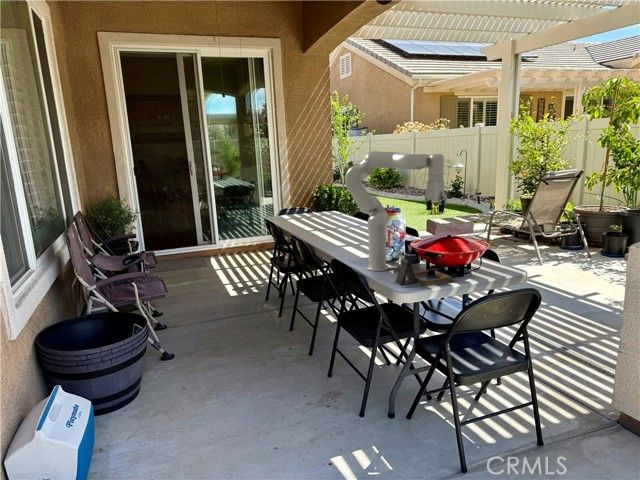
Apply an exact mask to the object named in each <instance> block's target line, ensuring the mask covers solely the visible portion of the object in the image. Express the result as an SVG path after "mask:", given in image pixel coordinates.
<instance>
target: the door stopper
mask: <svg viewBox="0 0 640 480" xmlns="http://www.w3.org/2000/svg"><path fill="white" fill-rule="evenodd" d="M413 268H414V267H413V262H412V261H411V260H410V259H407V258H406V257H405V258H403V257H402V258H401V259H400V266H399V269H398V273H397V275H396V278H395V281H394V282H396V283H398V284H400V285H401V286H402V285H409V284H417V280H416V277H415V274H414V272H415V271H414V269H413ZM407 276H408V280H406V279H407Z"/></svg>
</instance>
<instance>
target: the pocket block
mask: <svg viewBox="0 0 640 480" xmlns="http://www.w3.org/2000/svg"><path fill="white" fill-rule="evenodd" d="M429 270H430V269H426V270H421V271H420V270H419V271H414V274H415V277H416V280H417V283H420V284H421V285H420V286H424V287H431V286H437V285H441V284H447V283H452V282H453V277H452V276H450V275H447V274H445V273H442V272H440V271H438V270H435V275H436V276H437V277H436V276H435V277H436V278H433V279H429V280H426V279H425V280H424V278H420V276H421V277H424V276H428V275H427V274H428V272H429ZM439 277H440V278H439ZM406 279H408V276H407V275H406Z"/></svg>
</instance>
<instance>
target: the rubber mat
mask: <svg viewBox="0 0 640 480" xmlns="http://www.w3.org/2000/svg"><path fill="white" fill-rule="evenodd" d="M405 280H408V279H407V278H406V279H405ZM392 284H394V285H396V286H399V287H401V288H403V289H407V288H412V287H418V286H422V285H421V284H420V283H417V284H409V285H402V286H401V285H400V284H398V283H396V282H395V281H392Z"/></svg>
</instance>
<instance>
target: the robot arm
mask: <svg viewBox="0 0 640 480" xmlns="http://www.w3.org/2000/svg"><path fill="white" fill-rule="evenodd" d="M444 160H445V156H444V154H441V153H432V154H426V153H420V154H419V153H418V154H415V153H412V154H411V153H400V152H395V151H378V150H373V151H372V150H371V151H369V152H367V153H366V154H365V156H364V159H363V160H362V161H360V163H358V164H357V165H352V166H350V167H349V168H348V170H347V171H346V173H345V175H344V185H345V187H346V188H347V191H348V193H349V194H350V195H351V197H352V198H353V201H354V202H355V204H356V205H357V206H358V209H359V210H360V211H361V212H362V213H363V214H368V215H369V216H368V219H367V231H368V259H367V260H366V261H367V263H368V264H367V265H366V266H365V268H366V270H369V271H372V272H373V271H374V272H382V271H386V270H387V271H388V270H389V268H390V266H389V265H388V264H387V240H386V239H387V235H386V233H387V232H386V226H387V225H388V224H389V222H390V216H389V214H388V212H387V210H386V208H385V207H384V206H383V204H382V202H381V201H380V200H379V198H378V197H377V196H376V195H374V194H369V192H368V191H367V189H366V188H365V186H364V185H363V183H362V182H361V180H364V179H366V178H368V177H369V176H370V175H371V174H372V173H373V172H375V171H376V170H377V169H378V168H384V169H385V168H386V169H405V170H423V169H425V168H427V169H428V173H427V174H428V178H427V179H428V180H427V182H426V189H425V193H424V194H423V195H424V200H425V203H426V211H433V201H434V202H438V211H437V212H438V213H444V212H445V205H446V203H447V200H448V196H447V195H446V194H445V183H444V166H445V165H444V164H445V161H444Z"/></svg>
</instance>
